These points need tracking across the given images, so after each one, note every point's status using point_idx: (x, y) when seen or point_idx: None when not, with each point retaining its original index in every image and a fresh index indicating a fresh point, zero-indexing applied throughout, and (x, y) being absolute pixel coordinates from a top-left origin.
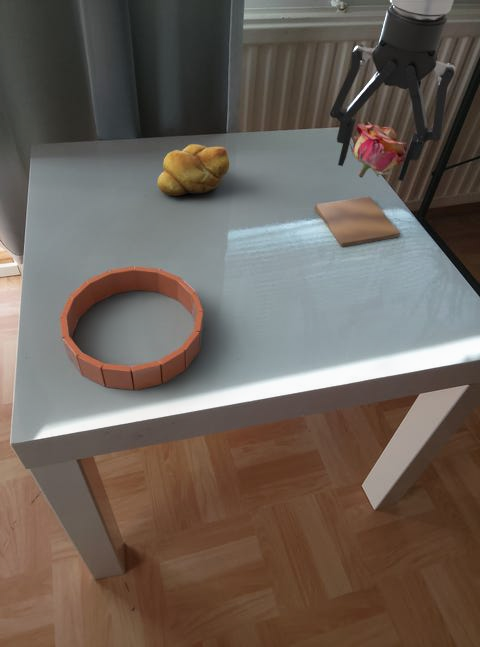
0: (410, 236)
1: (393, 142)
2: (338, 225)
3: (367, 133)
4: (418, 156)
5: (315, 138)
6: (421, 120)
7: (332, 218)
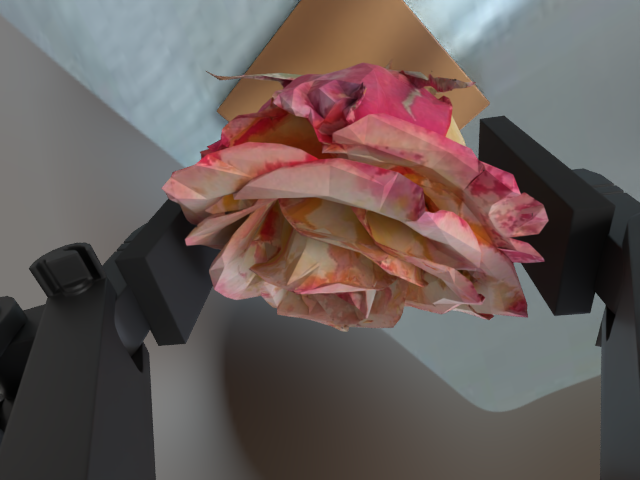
0: (196, 129)
1: (219, 160)
2: (391, 35)
3: (441, 166)
4: (133, 236)
5: (543, 377)
6: (37, 379)
7: (419, 62)
